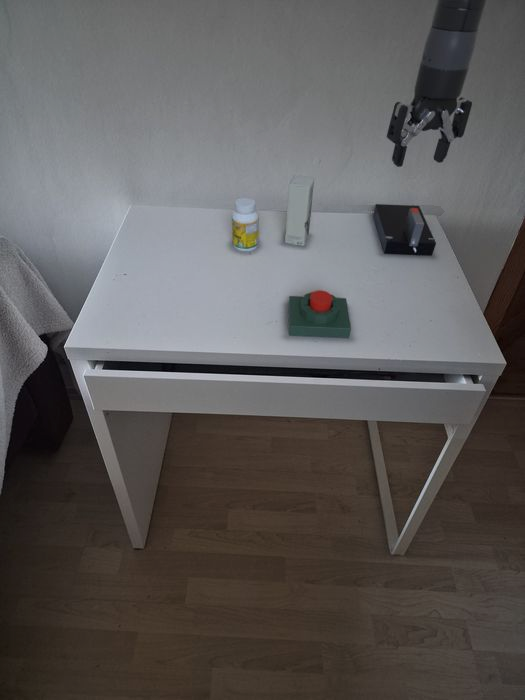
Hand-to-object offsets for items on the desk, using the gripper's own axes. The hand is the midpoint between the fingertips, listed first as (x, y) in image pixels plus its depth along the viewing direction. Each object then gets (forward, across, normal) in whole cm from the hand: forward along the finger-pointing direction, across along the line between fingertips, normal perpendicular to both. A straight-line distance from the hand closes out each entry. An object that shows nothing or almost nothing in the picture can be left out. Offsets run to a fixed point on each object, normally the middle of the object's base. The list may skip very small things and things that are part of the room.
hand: (417, 163), depth 83 cm
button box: (+17, -26, -19) cm, 36 cm away
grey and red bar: (+14, +1, -3) cm, 15 cm away
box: (+18, -20, +7) cm, 28 cm away
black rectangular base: (+17, +2, +2) cm, 18 cm away
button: (+14, -25, -19) cm, 35 cm away
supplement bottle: (+18, -31, +8) cm, 37 cm away
